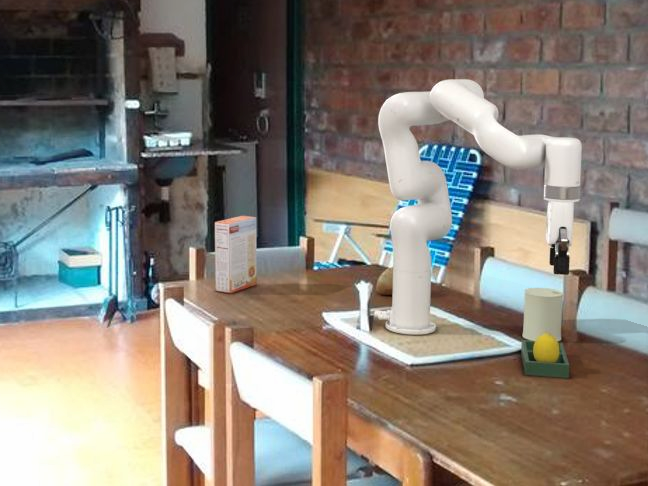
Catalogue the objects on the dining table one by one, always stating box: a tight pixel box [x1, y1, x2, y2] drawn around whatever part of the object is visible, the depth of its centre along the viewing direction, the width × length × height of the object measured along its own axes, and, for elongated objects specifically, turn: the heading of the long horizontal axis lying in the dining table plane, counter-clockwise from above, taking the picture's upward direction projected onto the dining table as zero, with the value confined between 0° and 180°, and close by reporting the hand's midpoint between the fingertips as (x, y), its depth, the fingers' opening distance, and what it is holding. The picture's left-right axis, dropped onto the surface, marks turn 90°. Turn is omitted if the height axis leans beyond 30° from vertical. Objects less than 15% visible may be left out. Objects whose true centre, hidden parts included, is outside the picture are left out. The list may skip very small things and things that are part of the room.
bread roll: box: [375, 266, 393, 296], centre depth 295 cm, size 10×15×8 cm, turn 113°
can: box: [522, 287, 564, 343], centre depth 250 cm, size 9×9×12 cm
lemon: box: [533, 333, 559, 363], centre depth 224 cm, size 6×6×8 cm
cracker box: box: [214, 215, 258, 294], centre depth 300 cm, size 14×6×21 cm, turn 144°
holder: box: [520, 339, 570, 379], centre depth 228 cm, size 9×17×3 cm, turn 167°
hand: (558, 269), depth 225 cm, fingers open, 9 cm apart
